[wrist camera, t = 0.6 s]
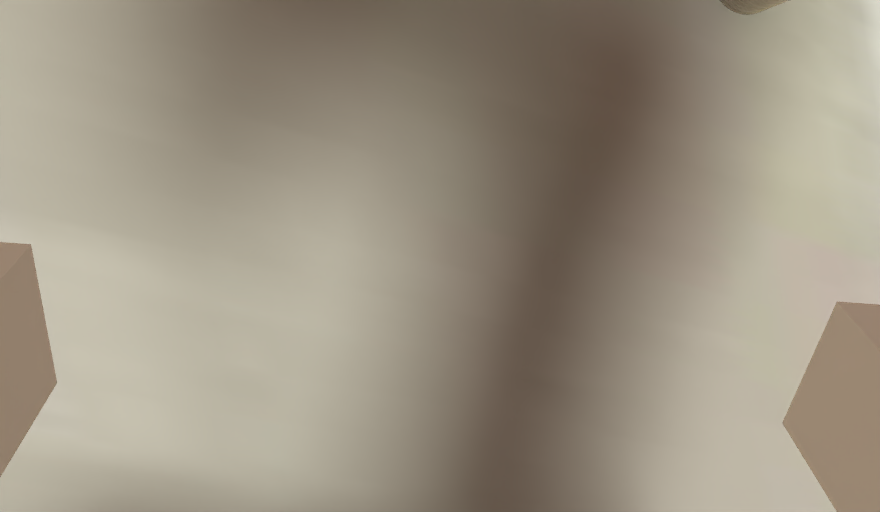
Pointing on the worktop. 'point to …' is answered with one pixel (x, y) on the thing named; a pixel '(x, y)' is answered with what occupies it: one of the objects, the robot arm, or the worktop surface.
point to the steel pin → (750, 5)
